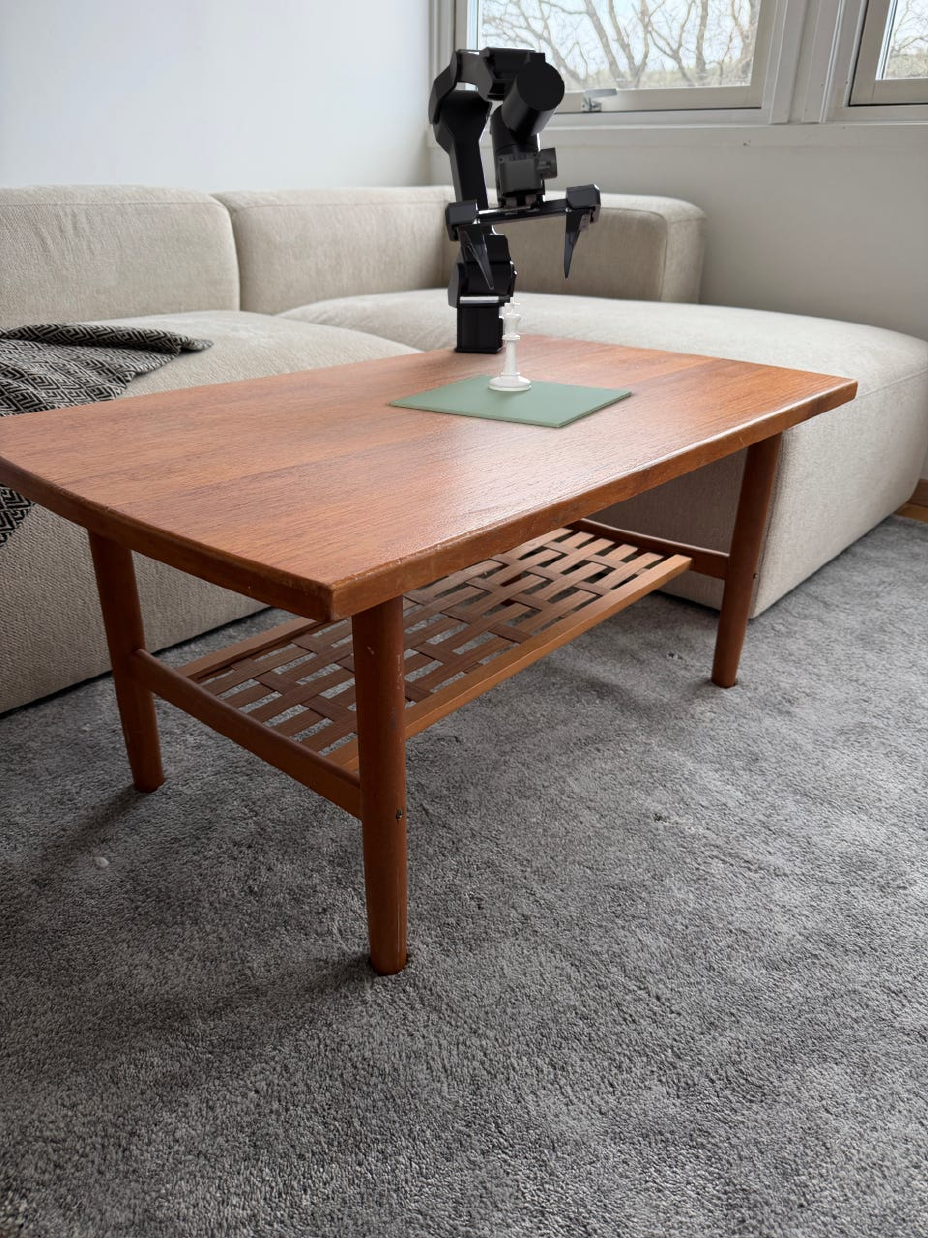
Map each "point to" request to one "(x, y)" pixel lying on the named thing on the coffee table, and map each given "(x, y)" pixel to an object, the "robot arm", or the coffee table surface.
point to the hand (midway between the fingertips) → (529, 283)
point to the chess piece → (510, 356)
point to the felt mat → (515, 401)
